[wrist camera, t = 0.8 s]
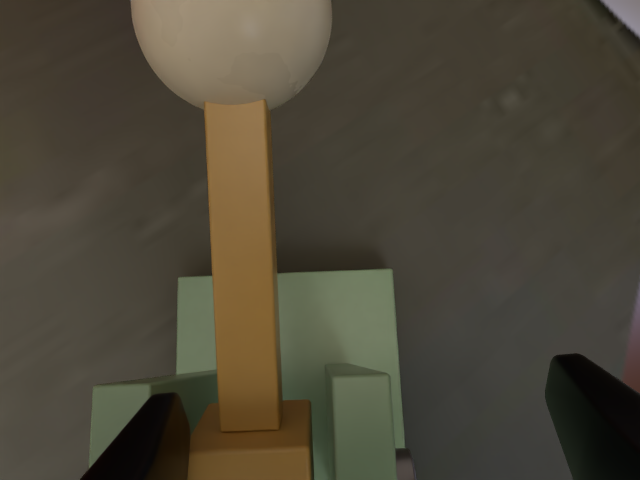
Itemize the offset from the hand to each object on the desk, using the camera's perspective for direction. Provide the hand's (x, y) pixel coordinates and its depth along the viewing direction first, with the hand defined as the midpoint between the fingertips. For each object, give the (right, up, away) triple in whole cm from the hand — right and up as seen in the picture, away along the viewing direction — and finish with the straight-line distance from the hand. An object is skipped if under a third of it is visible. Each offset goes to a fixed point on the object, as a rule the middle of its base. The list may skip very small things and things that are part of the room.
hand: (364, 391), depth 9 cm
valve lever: (-2, +2, +3) cm, 4 cm away
